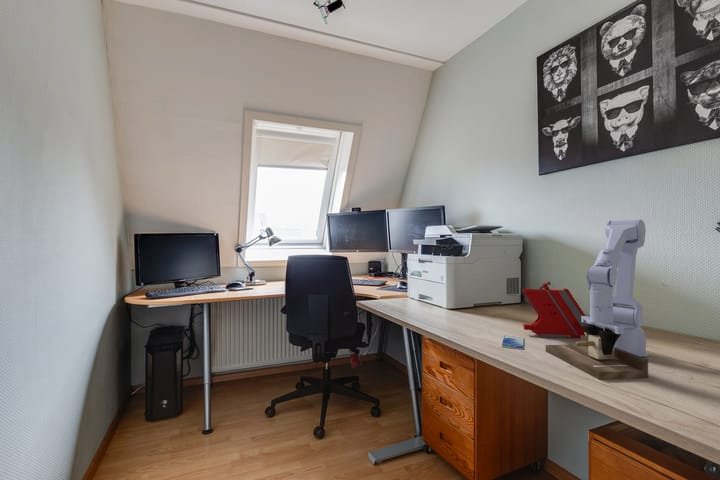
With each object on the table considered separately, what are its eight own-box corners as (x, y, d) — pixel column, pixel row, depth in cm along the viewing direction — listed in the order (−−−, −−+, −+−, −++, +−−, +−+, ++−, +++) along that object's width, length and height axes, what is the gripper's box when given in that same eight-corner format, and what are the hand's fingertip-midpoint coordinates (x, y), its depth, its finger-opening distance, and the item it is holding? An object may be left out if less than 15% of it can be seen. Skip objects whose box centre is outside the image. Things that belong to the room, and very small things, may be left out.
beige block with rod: (603, 354, 107) (604, 334, 107) (614, 358, 103) (614, 338, 103) (572, 355, 106) (572, 335, 106) (581, 359, 102) (581, 339, 102)
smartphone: (524, 337, 133) (523, 348, 119) (524, 340, 133) (523, 351, 119) (503, 335, 136) (501, 345, 122) (503, 337, 136) (501, 348, 122)
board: (585, 350, 119) (585, 335, 119) (648, 378, 95) (648, 359, 95) (545, 351, 118) (545, 336, 118) (599, 379, 94) (599, 360, 94)
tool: (600, 331, 138) (567, 268, 140) (609, 334, 132) (574, 268, 134) (536, 358, 139) (505, 295, 142) (543, 362, 134) (510, 297, 136)
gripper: (572, 302, 111) (572, 344, 111) (607, 311, 97) (607, 360, 97) (593, 302, 112) (593, 344, 112) (631, 311, 97) (631, 360, 97)
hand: (601, 352), depth 104 cm, fingers closed on beige block with rod, 4 cm apart
